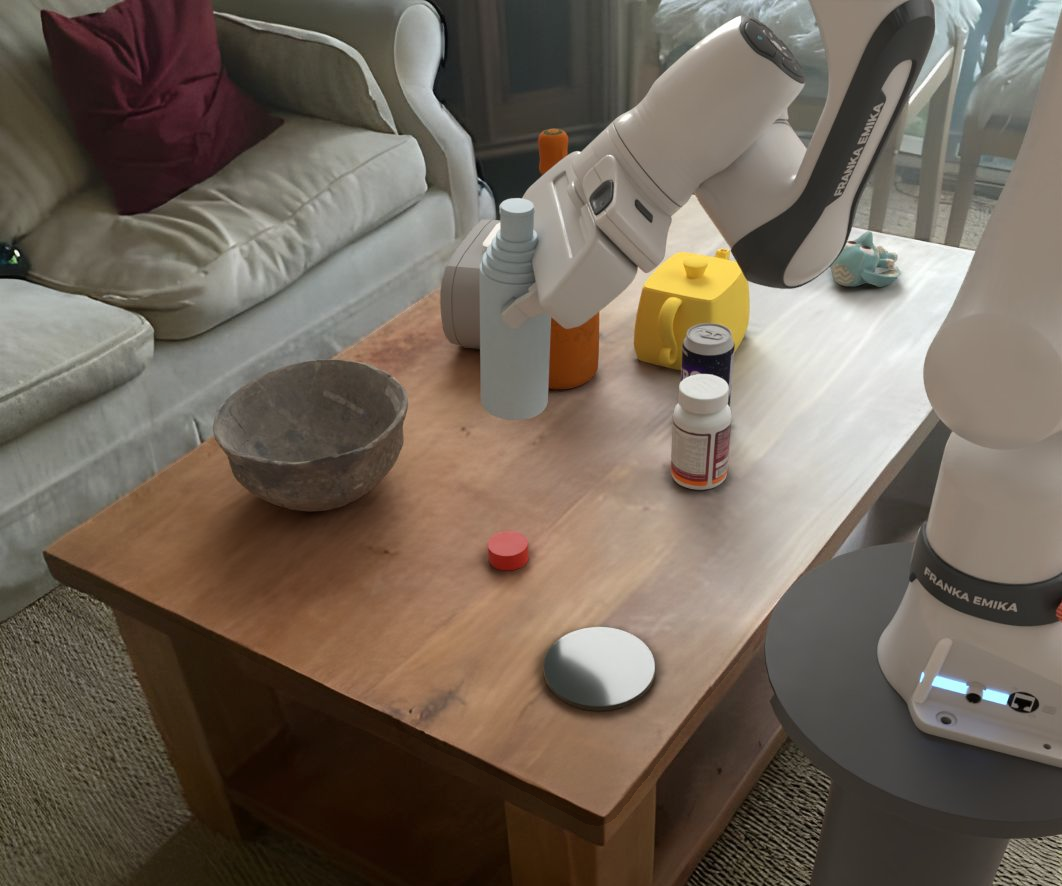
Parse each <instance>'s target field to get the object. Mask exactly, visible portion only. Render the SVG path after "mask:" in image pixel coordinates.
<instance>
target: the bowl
mask: <svg viewBox="0 0 1062 886" xmlns="http://www.w3.org/2000/svg"><path fill="white" fill-rule="evenodd" d="M408 408H409V400H408V393H407V391H406V389H405V387H404V386H403V385H402V383H401V382H399V380H397V378H396V377H395V376H393V375H392V374H391V373H390V372H388V371H387V370H383V369H380V368H379V367H376V366H374V365H372V364H370V363H366V362H360V361H356V360H355V361H354V360H346V359H337V358H336V359H332V358H331V359H330V358H329V359H316V358H315V359H309V360H304V361H301V362H296V363H292V364H289V365H285V366H282V367H279V368H276V369H275V370H271V371H268V372H267V373H265V374H261V375H260V376H257V377H255V380H254V379H251V380H250V381H248V382H247V383H245V385H243V386H241V387H240V388H238V389H237V390H236V391H235V392H233V393H232V394H231V395H230V396H229V397H227V398H226V399H225V400H224V402H222V403H221V404H220V405H219V407H218V408H217V409H216V412H215V415H214V418H213V423H212V424H213V425H212V432H213V436H214V439H215V441H216V443H217V444H218V447H220V449H221V450H222V451H223V453H224V455H226V456H227V460H228V462H229V467H230V469H231V472H232V475H233V477H234V478H235V480H236V481H237V482H238V483H239V484H240V485H241V486H242V487H243V488H244V489H245V490H247V491H248V492H249V493H251V494H253V495H254V496H256V497H258V498H259V499H261V500H263V501H264V502H268V503H270V504H272V505H274V506H277V507H281V508H284V509H288V510H291V511H301V512H322V511H323V512H324V511H329V510H335V509H338V508H341V507H344V506H345V505H347V504H350V503H353V502H354V501H356V500H357V499H360V498H361V497H363V496H364V495H366V494H367V493H369V492H370V491H371V490H372V489H373V488H374V487H376V485H378V484H379V483H381V481H382V480H384V478H385V477H386V476H387V475H388V474H389V473H390V471H391V470H392V469H393V467H394V466H395V464H396V463H397V460H398V458H399V456H400V453H401V451H402V449H403V446H404V441H405V440H404V439H405V437H404V421H405V419H406V415H407V413H408Z"/></svg>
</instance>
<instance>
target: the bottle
mask: <svg viewBox="0 0 1062 886" xmlns="http://www.w3.org/2000/svg"><path fill="white" fill-rule="evenodd" d="M498 209H499V212H498V213H499V215H500V219H499V220H500V230H498V232H497V234H496V237H494V238H493V240H492V242H491V244H490V245H489V246H488V248H487V251H486V252H485V253H484V254H483V256H482V262H481V263H480V267H479V276H480V349H479V354H480V355H479V357H480V358H479V359H480V360H479V362H480V369H479V371H480V404H481V406H482V408H483V409H484V411H485V412H487V413H488V414H489V415H491V416H493V417H495V418H497V419H500V420H505V421H524V420H529V419H532V418H535V417H537V416H539V415H540V414H542V413H543V412H544V411H545V410H546V409H547V407H548V403H549V388H548V383H549V359H550V334H551V316H550V315H549V314H547V313H543V314H540V315H537V316H534V317H531V318H528V319H527V320H526V321H525V322H524V323H523V324H522V325H520V326H519V327H518V328H516V329H513V328H511V327H510V326H509V325H507V324H506V323H505V322H504V321H503V319H502V311H501V308H502V306H503V305H504V304H507V302H508V301H509V300H510V299H511V298H512V297H513V296H514V297H515V298H516V299H518V298H520V297H521V296H523V295H525V294H527V293H528V292H529V290H528V289H529V287H530V286H531V285H533V284H534V283H535V282H536V281H535V276H534V271H533V265H532V260H531V259H532V257H533V255H534V253H535V246H536V244H537V237H538V236H537V233H536V231H535V230H534V213H535V207H534V204H533V203H532V202H531V201H529V200H526V199H522V197H521V198H520V197H514V198H513V197H511V198H507V199H505V200H503V201H502V202H501V203H499V208H498Z"/></svg>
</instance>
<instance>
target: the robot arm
mask: <svg viewBox="0 0 1062 886" xmlns="http://www.w3.org/2000/svg"><path fill="white" fill-rule="evenodd" d="M935 1H936V0H808V2H809V6H810V7H811V11H812V13H813V15H814V18H815V19H814V20H815V22H816V25H817V28H818V31H819V35H820V38H821V42H822V45H823V49H824V54H825V58H826V65H827V72H828V73H827V74H828V84H827V85H828V87H827V95H826V100H825V105H824V107H823V109H822V112H821V114H820V116H819V119H818V121H817V123H816V126H815V129H814V131H813V134H812V137H811V139H810V140H809V143H808V146H807V147H806V146H805V145H804V143H803V141H802V140H801V139H800V137H799V136H798V134H797V133H796V132H795V130H794V128H793V127H792V125H791V124H790V123H789V121H788V120H789V113H788V108H789V107H790V106H791V104H792V103H793V102H794V101H795V100H796V98H797V97H798V96H799V94H800V93H801V91H802V90H803V89H804V87H805V85H806V78H805V77H806V76H805V75H804V72H803V69H802V66H801V64H800V63H799V61H798V60H797V58H796V57H795V55H794V54H793V52H792V51H791V50H790V49H789V47H788V46H787V45H786V44H785V42H783V40H782V39H781V38H779V37H778V35H776V34H775V33H774V31H773V30H772V29H771V28H770V27H768V26H767V25H766V24H765V23H764V22H762V21H760V20H759V19H757V18H756V17H750V16H747V15H737V16H736V17H734V18H732V19H730V20H728V21H726V22H724V23H723V24H722V25H720V26H718V27H717V28H716V29H714V30H713V31H711V32H710V33H708V34H707V35H706V36H705V37H704V38H702V39H701V40H699V41H698V42H697V43H696V44H694V45H693V46H692V47H691V48H690V49H688V50H687V51H686V52H685V53H684V54H683V55H681V56H680V57H679V58H678V59H677V60H676V61H675V62H674V63H672V64H671V65H670V66H669V67H668V68H667V69H666V70H665V71H664V72H663V73H662V74H661V75H660V76H659V77H657V79H656V80H655V81H654V82H653V84H651V87H649V90H648V92H647V93H646V95H645V96H644V97H643V98H642V100H641V101H640V102H639V103H638V104H637V105H636V106H634V107H632V109H630V110H627V111H626V112H624V113H622V114H621V115H619V116H617V117H616V118H615V119H613V121H612V122H610V124H608V126H607V127H605V128H604V130H602V131H601V132H600V133H599V134H598V135H597V136H596V137H595V138H594V139H593V140H591V142H589V144H588V145H587V146H586V147H585V148H583V149H582V150H581V151H579V150H576V151H572V152H571V153H568V154H567V156H566V157H564V158H563V159H562V160H561V161H559V162H558V163H557V164H556V165H554V166H553V167H552V168H551V169H550V170H548V171H547V172H546V173H545V174H544V175H543V176H542V175H541V176H540V177H539V178H538V179H537V180H536V181H535V182H534V183H532V184H531V185H530V186H528V188H527V189H526V191H525V193H524V194H523V195H522V197H521V198H522V199H526V200H529V201H531V202H532V203H533V204H534V207H535V213H534V230H535V231H536V233H537V236H538V237H537V244H536V246H535V253H534V255H533V257H532V259H531V260H532V265H533V271H534V276H535V281H536V282H535V283H534V284H533V285H531V286H530V287H529V289H528V290H529V292H528V293H527V294H525V295H523V296H521V297H520V298H518V299H516V298H515V297H514V296H513V297H512V298H511V299H510V300H509V301H508V302H507V304H504V305H503V306H502V308H501V311H502V319H503V321H504V322H505V323H506V324H507V325H509V326H510V327H511V328H513V329H516V328H518V327H519V326H520V325H522V324H523V323H524V322H525V321H526V320H527V319H528V318H531V317H534V316H537V315H540V314H543V313H547V314H549V315H550V316H551V317H552V318H553V319H554V320H555V321H556V322H557V323H559V324H560V325H561V326H562V327H564V328H565V329H570V328H574V327H578V326H580V325H582V324H584V323H585V322H587V321H588V320H589V319H591V318H592V317H593V316H594V315H596V314H597V313H598V312H599V313H600V312H601V311H602V310H604V309H605V308H606V307H607V306H608V305H609V304H610V303H612V302H613V301H614V300H615V299H617V298H618V297H619V296H620V295H621V294H622V293H623V292H625V290H627V288H629V286H630V285H631V284H632V283H633V281H634V280H635V278H636V277H637V274H638V271H639V270H638V269H640V270H641V271H642V272H643V273H644V274H649V273H651V272H652V271H654V270H656V269H657V268H658V267H659V266H660V265H661V264H662V263H663V262H664V259H665V257H666V249H667V240H668V235H669V232H670V231H669V230H670V228H671V225H672V222H673V218H672V217H673V216H674V215H675V214H676V213H677V212H678V211H679V210H681V209H682V208H683V207H684V206H685V205H686V204H687V203H688V202H689V201H690V199H691V197H692V196H693V195H694V196H695V198H696V199H697V201H698V203H699V205H700V206H701V208H702V209H703V210H704V212H705V213H706V215H707V217H708V218H709V219H710V221H711V222H712V224H713V225H714V227H715V228H716V229H717V232H719V234H720V236H721V237H722V239H724V241H725V242H726V244H727V246H728V248H730V254H731V255H732V256H733V258H734V261H736V262H737V264H738V265H739V267H740V269H741V271H742V273H743V274H744V276H745V278H746V280H747V281H748V283H752V284H756V285H759V286H763V287H767V288H772V289H781V290H794V289H798V288H801V287H803V286H805V285H807V284H809V283H811V282H812V281H814V280H816V279H817V278H819V277H820V276H821V275H823V273H825V272H826V271H827V270H828V269H830V266H831V265H832V264H833V263H834V261H835V260H836V259H837V258H838V257H839V255H840V254H841V252H842V251H843V249H844V247H845V245H846V243H847V241H849V238H850V236H851V233H852V229H853V226H854V222H855V219H856V214H857V211H858V207H859V204H860V201H861V199H862V197H863V194H864V192H865V191H866V188H867V186H868V183H869V181H870V179H871V177H872V175H873V173H874V172H875V169H876V167H877V165H878V163H879V160H880V158H881V156H882V154H883V152H884V151H885V150H884V149H885V148H886V146H887V144H888V142H889V140H890V138H891V135H892V134H893V131H894V129H895V127H896V124H897V123H898V121H899V120H900V119H899V118H900V117H901V115H902V112H903V110H904V108H905V106H906V104H907V101H908V99H909V98H910V96H911V93H912V92H913V89H914V87H915V84H916V83H917V80H918V78H919V76H920V74H921V72H922V69H923V67H924V65H925V62H926V60H927V57H928V55H929V53H930V49H931V47H932V44H933V41H934V37H935V34H936V12H935V11H936V8H935ZM923 361H924V362H923V367H922V378H923V385H924V390H925V393H926V397H927V400H928V402H929V404H930V406H931V407H932V410H933V411H934V413H935V414H936V416H937V417H938V418H939V420H940V421H941V423H943V424H944V425H945V426H946V427H947V428H948V429H949V430H950V431H951V432H950V434H949V437H948V439H947V441H946V444H945V446H944V450H943V453H942V454H943V455H942V459H941V462H940V467H939V471H938V475H937V478H936V479H937V480H936V482H935V483H936V484H935V488H934V490H933V491H934V492H933V496H932V501H931V505H930V507H929V512H928V513H927V515H926V517H925V519H924V520H923V522H922V524H920V527H919V529H918V531H917V533H916V537H915V540H914V542H915V544H914V548H913V552H912V557H911V561H910V566H911V568H910V574H909V580H910V583H909V585H908V588H907V590H906V593H905V595H904V597H903V600H902V602H901V604H900V606H899V608H898V610H897V612H896V614H895V615H894V617H893V619H892V620H891V622H890V623H889V625H888V626H887V627H886V629H885V630H884V632H883V633H882V635H881V637H880V639H879V643H878V648H877V656H878V661H879V665H880V668H881V670H882V672H883V674H884V676H885V677H886V679H887V680H888V682H889V683H890V684H891V686H892V687H893V688H894V689H895V690H896V691H897V692H898V693H899V694H900V696H901V697H902V698H903V699H904V700H905V702H906V703H907V705H908V708H909V711H910V714H911V717H912V719H913V722H914V723H915V725H916V726H917V727H918V728H919V729H920V730H921V731H923V732H925V733H928V734H931V735H935V736H939V737H943V738H947V739H951V740H954V741H958V742H962V743H966V744H970V745H974V746H978V747H982V748H986V749H990V750H994V751H997V752H1001V753H1005V754H1009V755H1013V756H1017V757H1021V758H1025V759H1029V760H1033V761H1037V762H1040V763H1044V764H1048V765H1052V766H1056V767H1060V768H1062V7H1061V8H1060V12H1059V15H1058V19H1057V23H1056V26H1055V30H1054V34H1053V37H1052V41H1051V44H1050V47H1049V50H1048V55H1047V58H1046V62H1045V65H1044V69H1043V73H1042V76H1041V80H1040V84H1039V87H1038V91H1037V94H1036V97H1035V100H1034V103H1033V108H1032V112H1031V115H1030V119H1029V121H1028V125H1027V127H1026V131H1025V134H1024V137H1023V140H1022V142H1021V145H1020V148H1019V151H1018V154H1017V156H1016V158H1015V161H1014V163H1013V166H1012V168H1011V170H1010V172H1009V175H1008V177H1007V179H1006V181H1005V184H1004V186H1003V188H1002V189H1001V192H1000V195H999V196H998V199H997V201H996V203H995V205H994V208H993V209H992V212H991V213H990V216H989V219H988V221H987V223H986V225H985V227H984V230H983V232H982V234H981V237H980V238H979V241H978V244H977V246H976V248H975V251H974V253H973V256H972V258H971V261H970V263H969V265H968V268H967V271H966V273H965V276H964V278H963V281H962V283H961V284H960V288H959V290H958V292H957V294H956V297H955V299H954V301H953V303H952V304H951V307H950V309H949V311H948V313H947V315H946V317H945V318H944V320H943V322H942V323H941V325H940V327H939V328H938V330H937V333H936V334H935V336H934V337H933V339H932V341H931V343H930V344H929V346H928V349H927V351H926V354H925V357H924V360H923ZM943 723H947V724H943Z"/></svg>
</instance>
